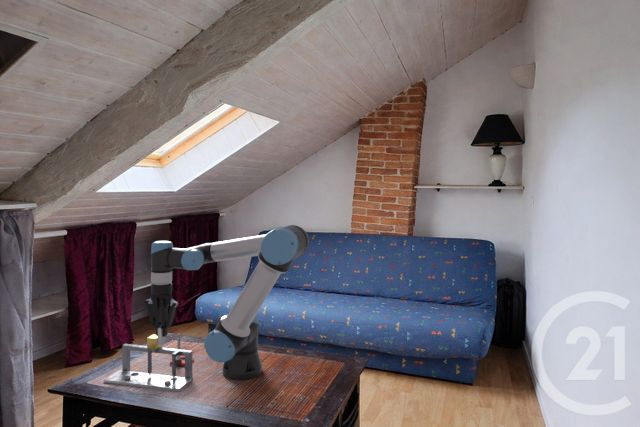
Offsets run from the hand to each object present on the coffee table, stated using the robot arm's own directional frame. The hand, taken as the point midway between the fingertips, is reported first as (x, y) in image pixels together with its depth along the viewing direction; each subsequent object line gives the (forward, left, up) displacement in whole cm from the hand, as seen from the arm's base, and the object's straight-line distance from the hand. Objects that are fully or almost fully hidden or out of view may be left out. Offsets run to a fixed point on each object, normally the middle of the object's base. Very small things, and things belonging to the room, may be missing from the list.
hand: (161, 344), depth 175 cm
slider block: (+3, +1, -11) cm, 11 cm away
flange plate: (+2, +6, -12) cm, 14 cm away
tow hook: (-1, -14, -13) cm, 19 cm away
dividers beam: (+2, +2, -12) cm, 12 cm away
